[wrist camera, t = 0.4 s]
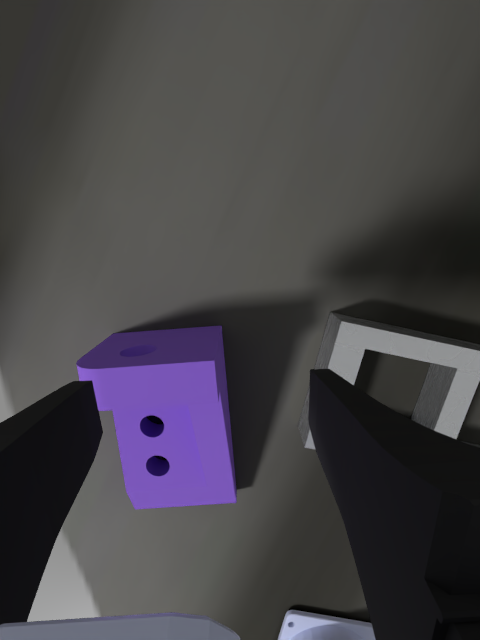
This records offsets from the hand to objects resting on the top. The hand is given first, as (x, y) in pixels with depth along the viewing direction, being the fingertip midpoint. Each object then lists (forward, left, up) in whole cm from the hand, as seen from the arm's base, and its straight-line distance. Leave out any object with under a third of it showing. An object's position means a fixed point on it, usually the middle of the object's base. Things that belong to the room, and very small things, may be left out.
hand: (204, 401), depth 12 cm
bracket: (-7, +2, -11) cm, 13 cm away
